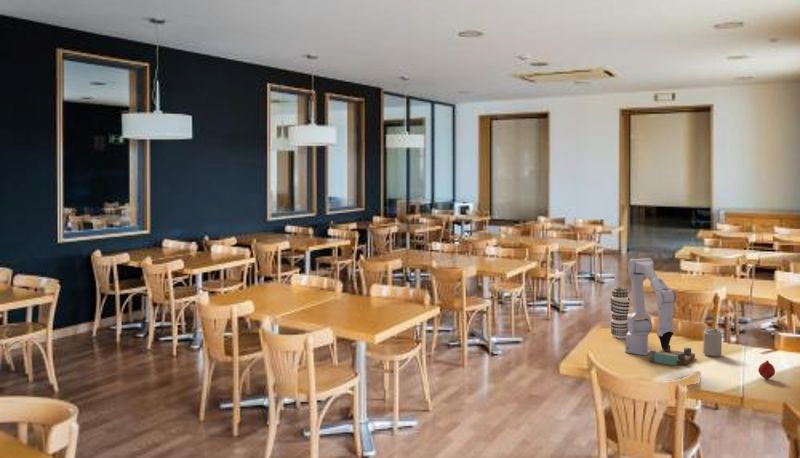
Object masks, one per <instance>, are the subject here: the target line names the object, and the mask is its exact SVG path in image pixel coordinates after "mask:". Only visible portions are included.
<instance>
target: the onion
mask: <svg viewBox="0 0 800 458" xmlns="http://www.w3.org/2000/svg"><path fill="white" fill-rule="evenodd" d="M757 371H758V373H759V374H760V377H762V378H763V379H765V380H766V381H767V380H769V379H771V378H772V377H774V376H775V374H776V369H775V366H774V365H773V364H772V363H771V362H769V360H765V361H764V362H762V363H761V364H760V365H759V367H758V370H757Z"/></svg>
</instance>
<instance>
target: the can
mask: <svg viewBox="0 0 800 458" xmlns="http://www.w3.org/2000/svg"><path fill="white" fill-rule="evenodd" d="M722 340H723V334H722V332H721V329H720V328H716V327H707V328H705V329H704V331H703V344H702V345H703V346H702V347H703V348H702V353H703V354H704V355H705V356H707V357H711V358H717V357H716V356H718V357H720V356H721V355H722V350H723V349H722V348H723V347H722V343H723V341H722Z"/></svg>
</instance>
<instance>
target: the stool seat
mask: <svg viewBox="0 0 800 458" xmlns="http://www.w3.org/2000/svg"><path fill="white" fill-rule="evenodd" d="M658 352H659V353H665V354H671V355H677V365H678V366H683V367H687V366H688V365H690V363H691V362H692V361H693V360H694V359H696V358H695V357H696V353H693V352H692V348H691V347H684V348H683V351H679V350H673V349H671V345H670V344H669V347H668V349H667V350H666V349H662V348H661V350H659V351H658ZM677 365H676V366H677Z"/></svg>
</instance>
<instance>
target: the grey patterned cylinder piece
mask: <svg viewBox="0 0 800 458" xmlns="http://www.w3.org/2000/svg"><path fill="white" fill-rule="evenodd" d="M629 291H630V290H629V289H628V288H627V287H625V286H618V285H617V286H615V287H613V289H611V297H610V299H609V300H610V304H611V305H610V307H611V308H610V310H611V312H610V314H611V322H610V324H611V325H610V327H611V328H610V330H611V331H610V337H612V336H613V338H616V337H617V339H626V335H627V333H628V332H629V331H628V328H627V323H628V317H629V316H628V315H629V311H630V309H628V308H629V307H630V302H629V301H630V300H631V299H630V298H629Z"/></svg>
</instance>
